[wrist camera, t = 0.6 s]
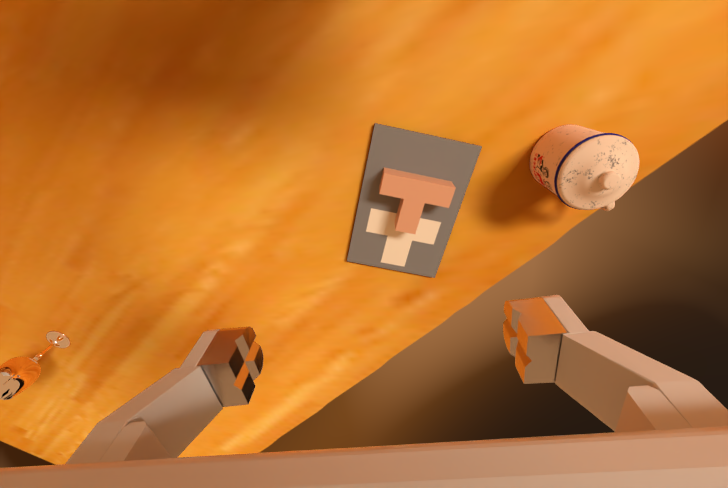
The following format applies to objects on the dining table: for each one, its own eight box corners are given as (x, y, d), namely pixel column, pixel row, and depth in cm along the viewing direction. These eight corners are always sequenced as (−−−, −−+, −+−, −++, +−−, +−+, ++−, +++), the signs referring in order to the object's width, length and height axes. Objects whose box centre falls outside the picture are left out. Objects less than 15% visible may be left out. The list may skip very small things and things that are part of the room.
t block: (383, 167, 48) (384, 173, 45) (451, 181, 48) (455, 187, 45) (372, 217, 51) (372, 225, 49) (435, 230, 52) (438, 238, 49)
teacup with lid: (514, 154, 47) (552, 178, 36) (576, 107, 44) (637, 119, 33) (556, 213, 50) (601, 250, 40) (615, 174, 47) (681, 203, 37)
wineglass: (75, 336, 66) (18, 387, 56) (71, 354, 69) (15, 406, 58) (45, 324, 65) (-20, 374, 54) (41, 342, 67) (-22, 393, 57)
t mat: (374, 123, 45) (374, 123, 45) (480, 145, 46) (481, 146, 46) (347, 259, 56) (346, 261, 55) (434, 275, 56) (434, 277, 56)
